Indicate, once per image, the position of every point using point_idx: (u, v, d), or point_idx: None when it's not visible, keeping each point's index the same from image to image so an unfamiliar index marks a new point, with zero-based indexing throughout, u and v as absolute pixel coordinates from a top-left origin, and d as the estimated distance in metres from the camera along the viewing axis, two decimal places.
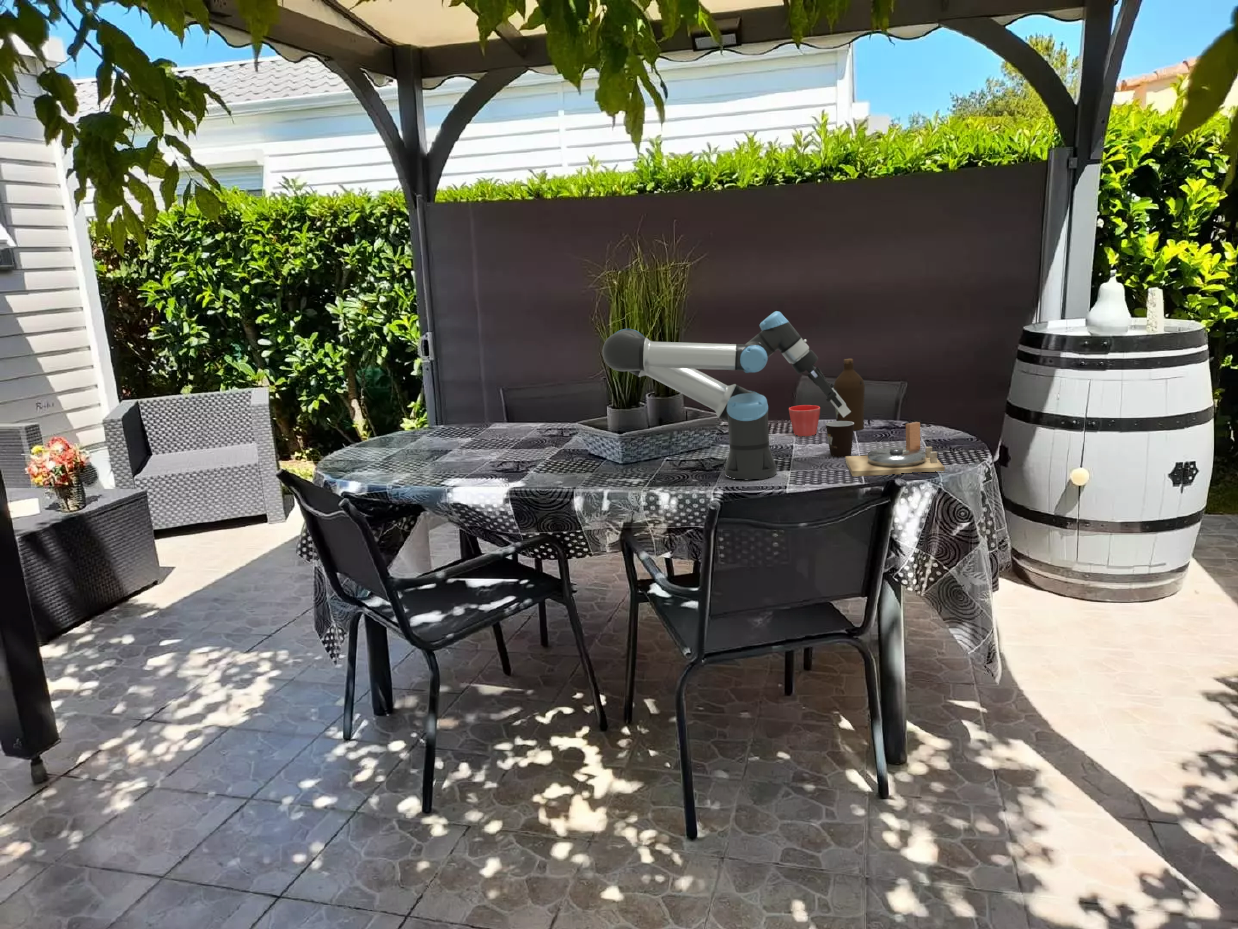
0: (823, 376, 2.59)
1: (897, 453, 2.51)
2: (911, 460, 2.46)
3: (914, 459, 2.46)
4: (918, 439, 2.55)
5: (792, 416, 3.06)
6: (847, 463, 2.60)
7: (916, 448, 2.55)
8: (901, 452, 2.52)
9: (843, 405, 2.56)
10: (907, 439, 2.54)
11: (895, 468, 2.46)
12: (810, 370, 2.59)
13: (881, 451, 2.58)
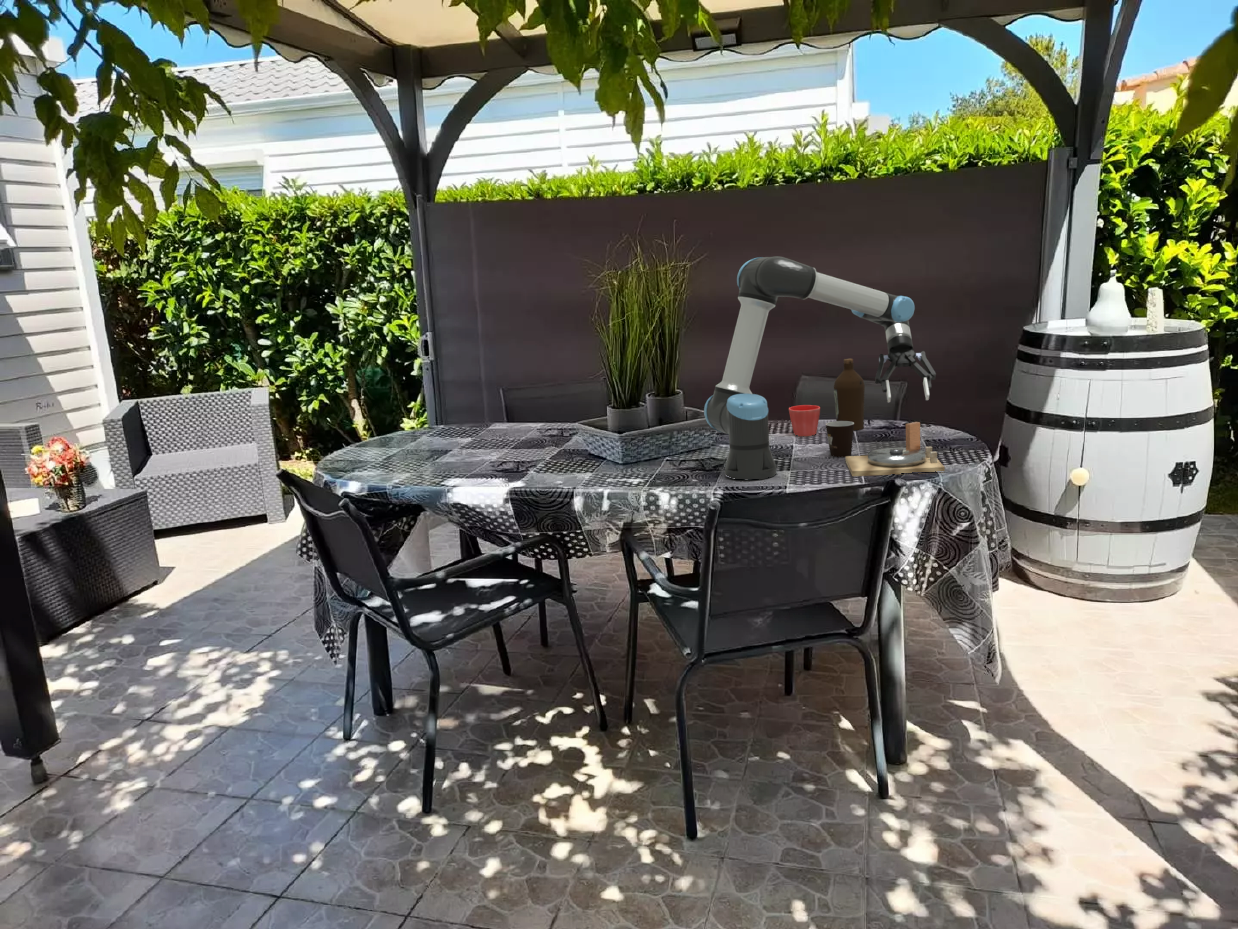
0: None
1: (897, 453, 2.51)
2: (911, 460, 2.46)
3: (914, 459, 2.46)
4: (918, 439, 2.55)
5: (792, 416, 3.06)
6: (847, 463, 2.60)
7: (916, 448, 2.55)
8: (901, 452, 2.52)
9: None
10: (907, 439, 2.54)
11: (895, 468, 2.46)
12: (914, 352, 2.71)
13: (881, 451, 2.58)
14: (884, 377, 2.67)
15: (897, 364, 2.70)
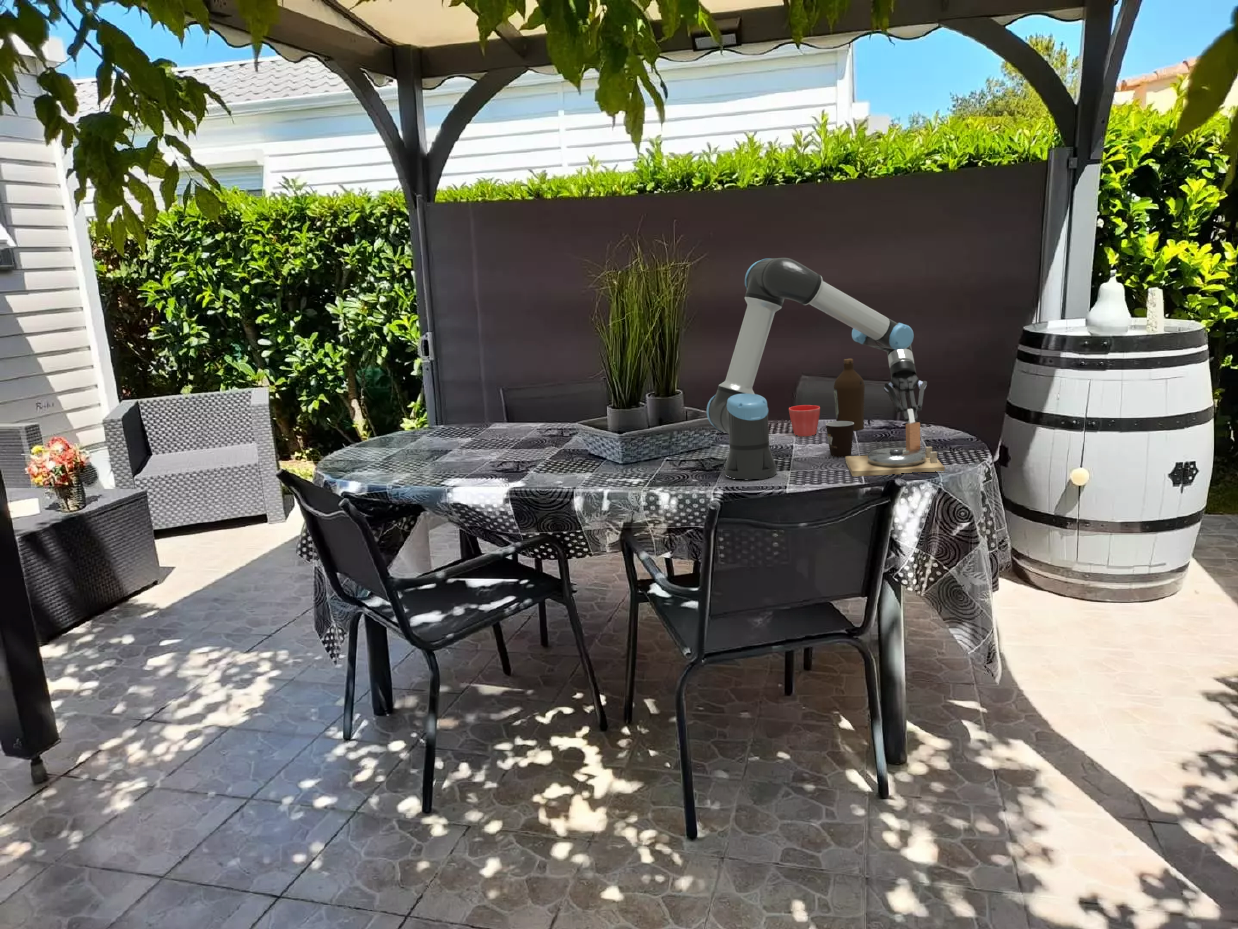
0: None
1: (897, 453, 2.51)
2: (911, 460, 2.46)
3: (914, 459, 2.46)
4: (918, 439, 2.55)
5: (792, 416, 3.06)
6: (847, 463, 2.60)
7: (916, 448, 2.55)
8: (901, 452, 2.52)
9: None
10: (907, 439, 2.54)
11: (895, 468, 2.46)
12: (918, 378, 2.70)
13: (881, 451, 2.58)
14: (905, 406, 2.64)
15: None
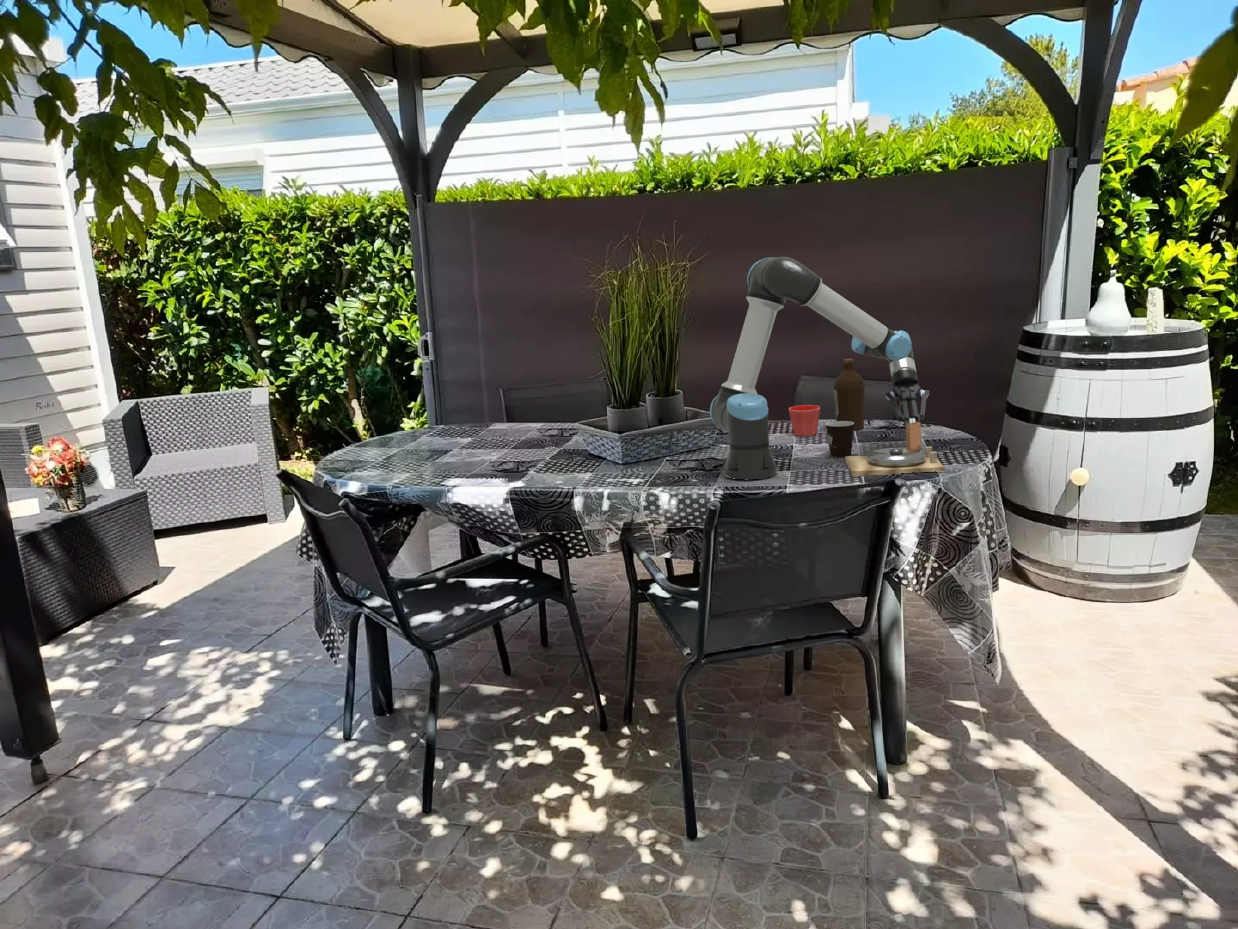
0: None
1: (897, 453, 2.51)
2: (910, 460, 2.46)
3: (913, 459, 2.46)
4: (919, 439, 2.55)
5: (792, 416, 3.06)
6: (847, 463, 2.60)
7: (917, 448, 2.55)
8: (901, 452, 2.52)
9: None
10: (908, 439, 2.54)
11: (895, 468, 2.46)
12: (920, 387, 2.67)
13: (881, 451, 2.58)
14: (906, 415, 2.61)
15: (902, 399, 2.65)
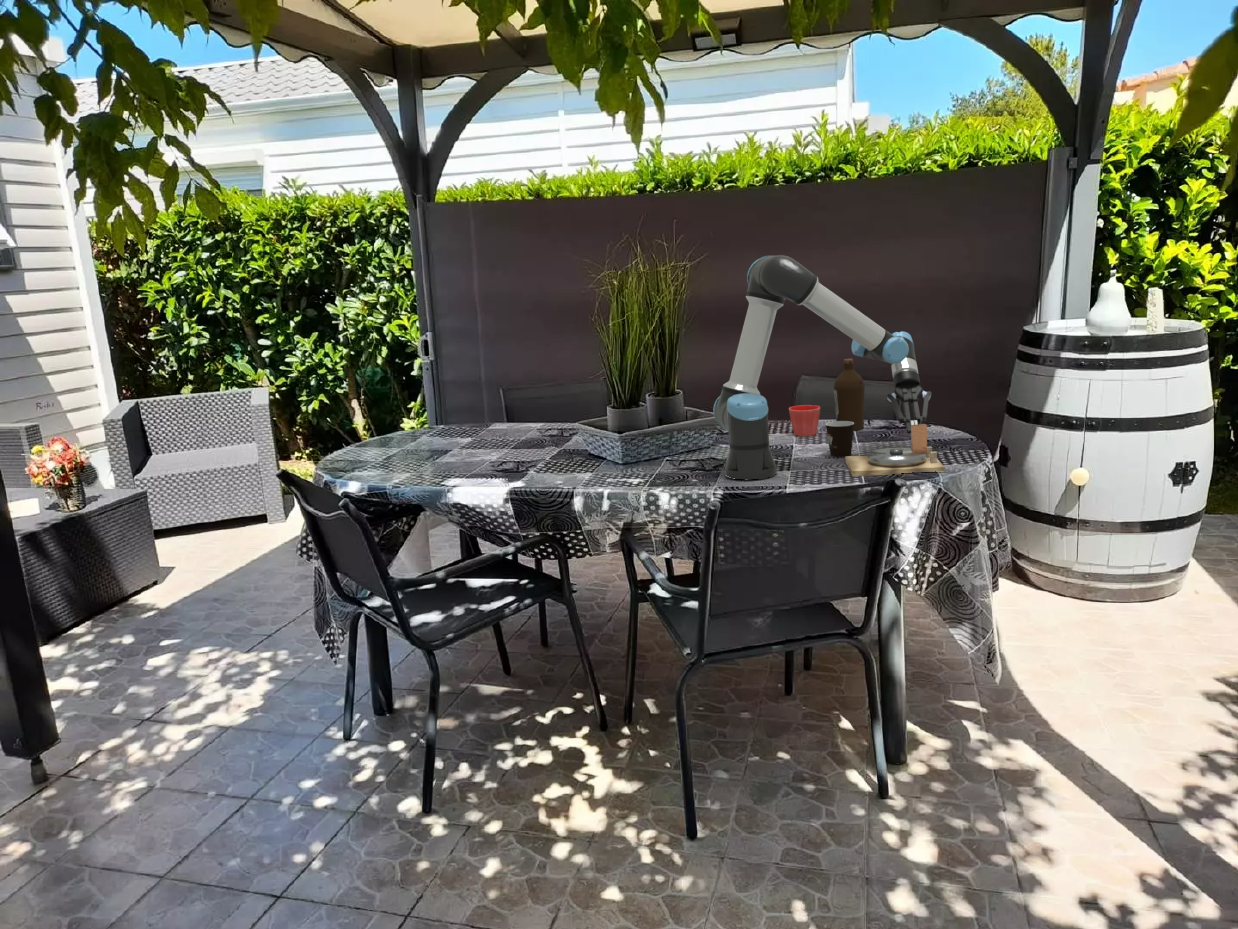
0: None
1: (894, 453, 2.52)
2: (896, 461, 2.46)
3: (900, 460, 2.46)
4: (924, 442, 2.51)
5: (792, 416, 3.06)
6: (847, 463, 2.60)
7: (921, 450, 2.52)
8: (899, 452, 2.51)
9: None
10: (911, 440, 2.52)
11: (895, 468, 2.46)
12: (922, 389, 2.63)
13: (889, 450, 2.58)
14: (908, 417, 2.57)
15: None
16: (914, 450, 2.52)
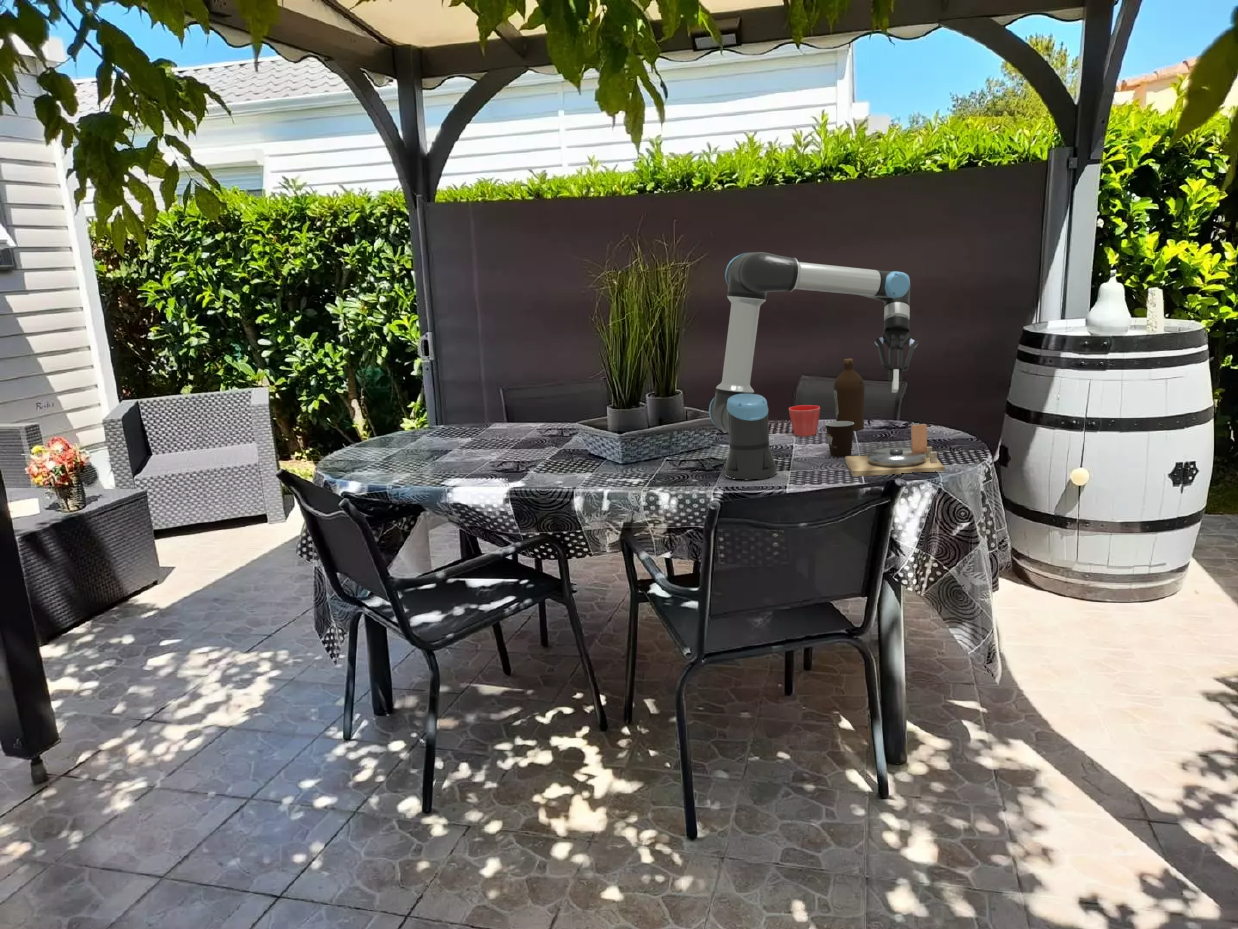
0: None
1: (894, 453, 2.52)
2: (896, 461, 2.46)
3: (900, 460, 2.46)
4: (924, 442, 2.51)
5: (792, 416, 3.06)
6: (847, 463, 2.60)
7: (921, 450, 2.52)
8: (899, 452, 2.51)
9: None
10: (911, 440, 2.52)
11: (895, 468, 2.46)
12: (910, 336, 2.67)
13: (889, 450, 2.58)
14: (891, 365, 2.63)
15: (890, 346, 2.66)
16: (914, 450, 2.52)
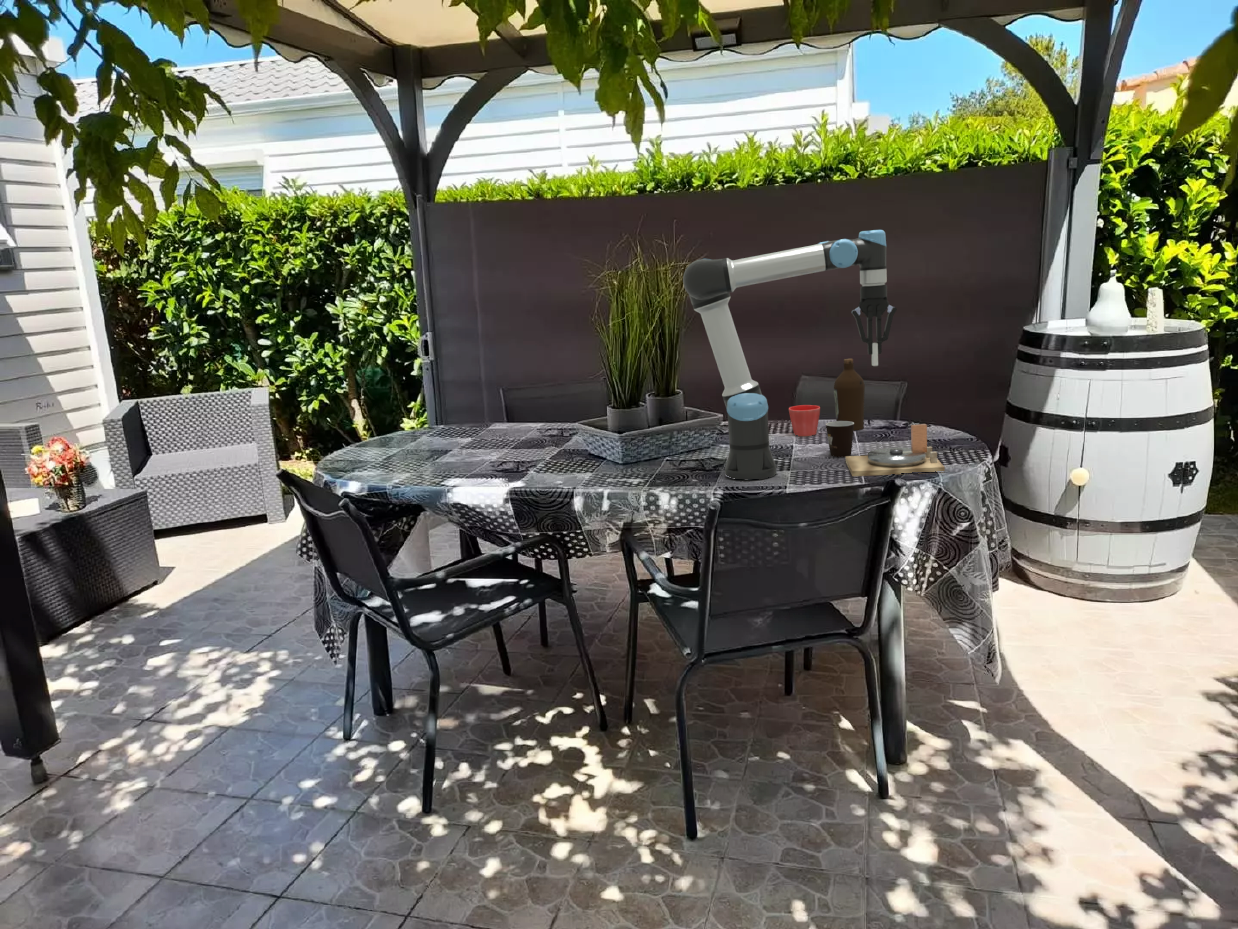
0: None
1: (894, 453, 2.52)
2: (896, 461, 2.46)
3: (900, 460, 2.46)
4: (924, 442, 2.51)
5: (792, 416, 3.06)
6: (847, 463, 2.60)
7: (921, 450, 2.52)
8: (899, 452, 2.51)
9: None
10: (911, 440, 2.52)
11: (895, 468, 2.46)
12: (888, 302, 2.55)
13: (889, 450, 2.58)
14: (870, 340, 2.57)
15: (868, 316, 2.57)
16: (914, 450, 2.52)
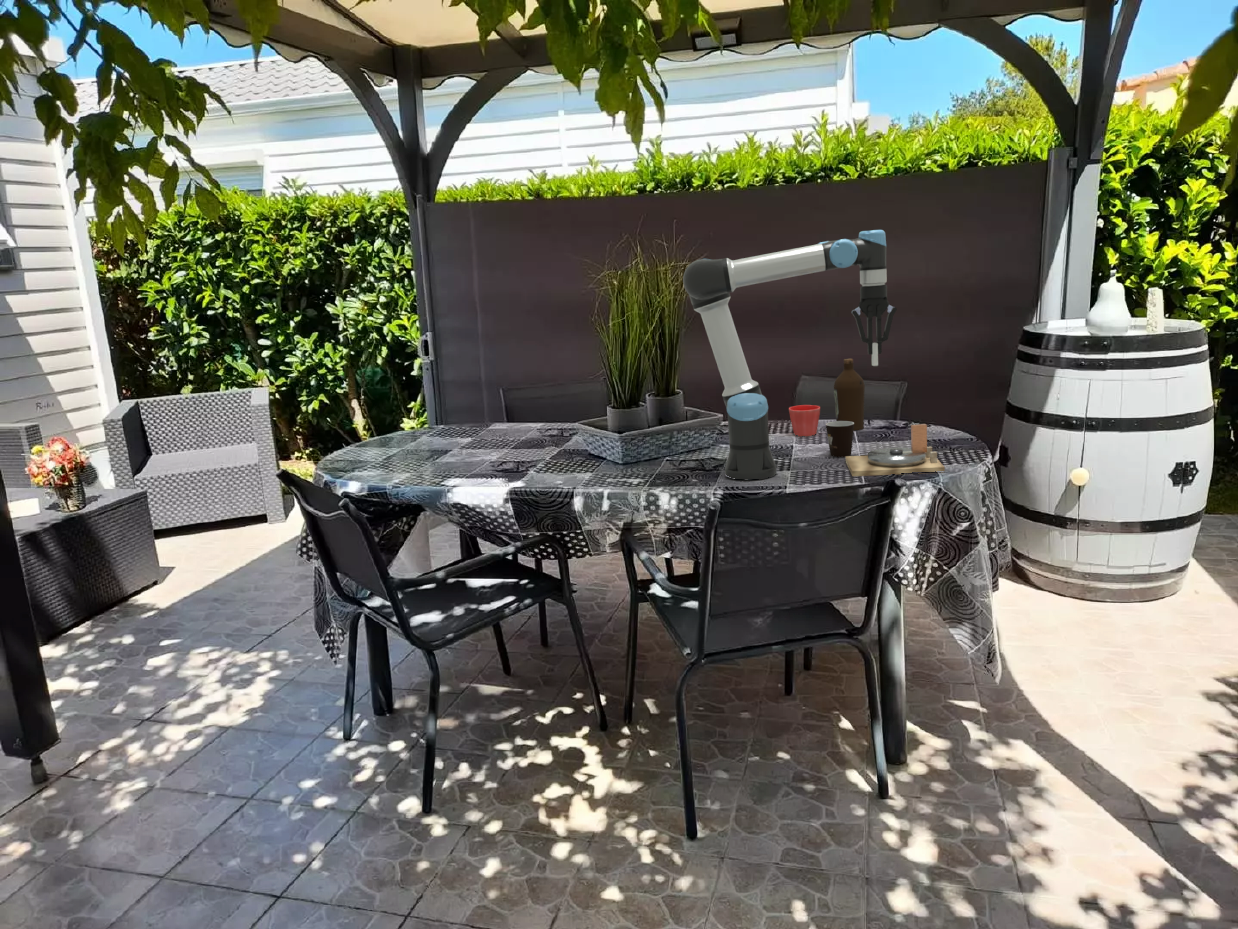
0: None
1: (894, 453, 2.52)
2: (896, 461, 2.46)
3: (900, 460, 2.46)
4: (924, 442, 2.51)
5: (792, 416, 3.06)
6: (847, 463, 2.60)
7: (921, 450, 2.52)
8: (899, 452, 2.51)
9: None
10: (911, 440, 2.52)
11: (895, 468, 2.46)
12: (888, 302, 2.55)
13: (889, 450, 2.58)
14: (870, 340, 2.57)
15: (868, 316, 2.57)
16: (914, 450, 2.52)
